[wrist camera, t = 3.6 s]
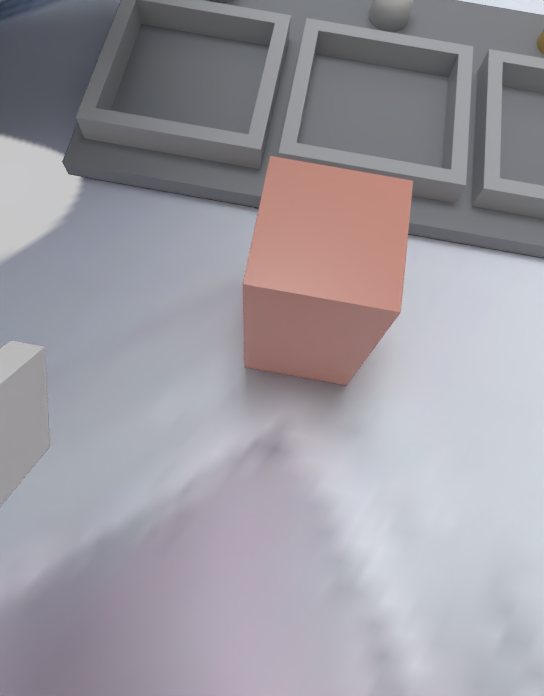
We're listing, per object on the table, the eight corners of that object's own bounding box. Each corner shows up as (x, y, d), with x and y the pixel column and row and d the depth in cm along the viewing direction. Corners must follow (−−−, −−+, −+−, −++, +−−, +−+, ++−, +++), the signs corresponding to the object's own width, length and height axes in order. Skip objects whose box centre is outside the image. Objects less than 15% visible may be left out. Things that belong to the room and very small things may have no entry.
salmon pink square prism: (244, 367, 24) (242, 283, 15) (262, 276, 26) (270, 155, 17) (346, 385, 24) (400, 312, 15) (358, 293, 26) (413, 180, 17)
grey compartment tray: (68, 174, 27) (44, 127, 24) (147, -36, 33) (136, -97, 29) (651, 276, 27) (706, 243, 23) (630, 46, 32) (673, -7, 29)
